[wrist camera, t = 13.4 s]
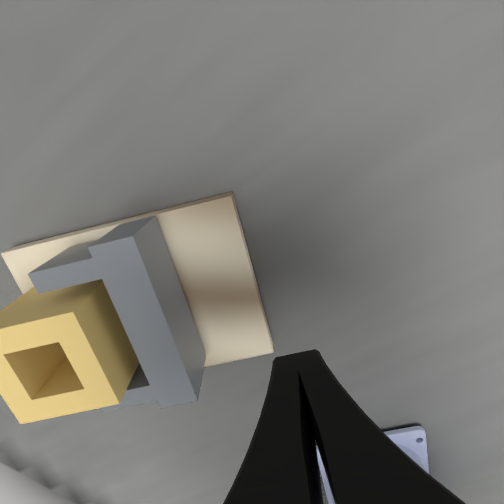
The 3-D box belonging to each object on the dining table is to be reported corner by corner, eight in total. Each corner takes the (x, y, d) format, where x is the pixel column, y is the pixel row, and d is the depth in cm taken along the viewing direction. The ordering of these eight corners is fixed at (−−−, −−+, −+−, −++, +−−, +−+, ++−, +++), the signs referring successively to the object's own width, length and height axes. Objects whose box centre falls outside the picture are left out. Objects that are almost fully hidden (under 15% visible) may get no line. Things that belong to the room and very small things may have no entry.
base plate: (272, 340, 21) (276, 381, 18) (86, 380, 22) (56, 426, 19) (232, 191, 18) (227, 206, 14) (15, 246, 19) (-38, 272, 15)
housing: (206, 355, 20) (197, 400, 16) (128, 372, 20) (105, 419, 17) (155, 215, 17) (132, 236, 13) (65, 238, 17) (21, 263, 14)
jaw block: (150, 338, 20) (119, 403, 15) (74, 355, 20) (20, 424, 15) (119, 265, 18) (73, 311, 13) (36, 284, 18) (-38, 337, 14)
